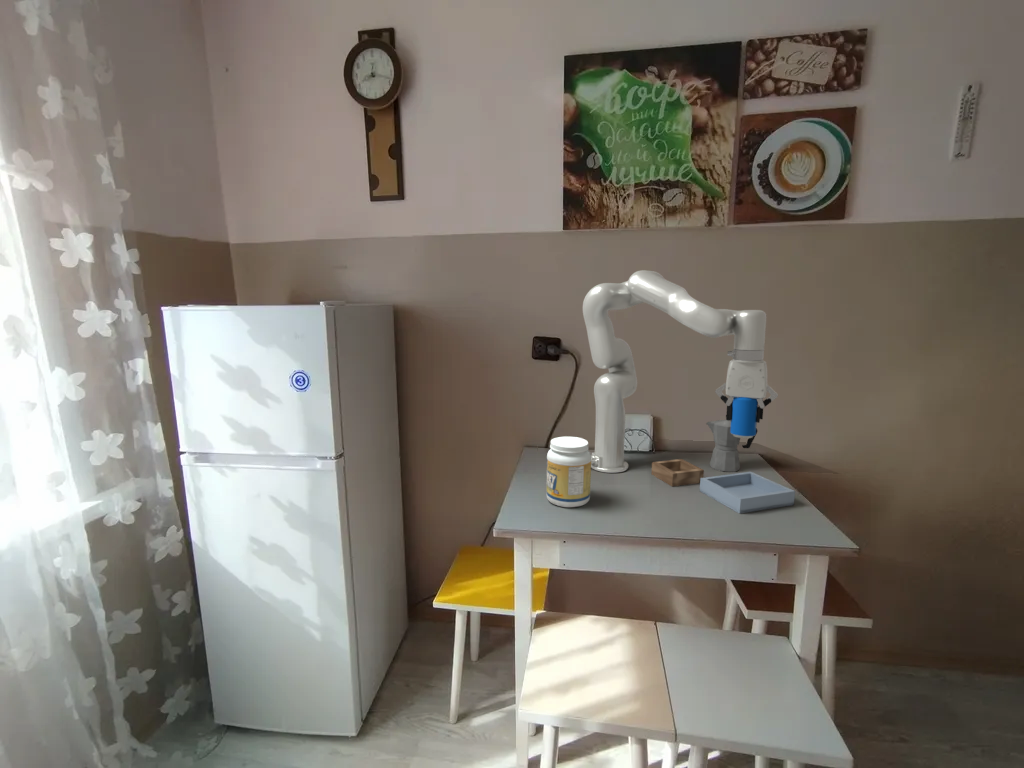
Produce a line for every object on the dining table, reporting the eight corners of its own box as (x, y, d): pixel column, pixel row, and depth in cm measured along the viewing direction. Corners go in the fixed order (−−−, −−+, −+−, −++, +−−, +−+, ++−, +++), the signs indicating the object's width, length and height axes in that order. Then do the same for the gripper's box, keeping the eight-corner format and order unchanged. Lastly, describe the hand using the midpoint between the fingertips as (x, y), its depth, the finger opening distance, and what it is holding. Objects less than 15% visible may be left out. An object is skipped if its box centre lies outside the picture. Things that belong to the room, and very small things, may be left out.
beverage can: (752, 440, 136) (755, 396, 134) (727, 436, 140) (730, 394, 138) (757, 435, 141) (760, 392, 139) (733, 431, 145) (735, 390, 143)
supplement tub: (539, 495, 144) (539, 437, 141) (577, 489, 149) (578, 433, 146) (558, 511, 133) (559, 450, 130) (598, 504, 137) (600, 445, 134)
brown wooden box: (672, 486, 150) (672, 473, 150) (651, 474, 161) (651, 462, 160) (703, 482, 154) (703, 470, 153) (680, 470, 164) (681, 458, 163)
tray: (739, 513, 132) (740, 499, 131) (699, 491, 147) (700, 478, 146) (793, 505, 137) (795, 491, 136) (749, 484, 152) (750, 471, 151)
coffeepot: (702, 469, 165) (706, 415, 162) (703, 460, 174) (707, 409, 171) (754, 475, 159) (759, 420, 156) (753, 466, 168) (757, 414, 165)
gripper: (712, 356, 137) (709, 420, 140) (784, 358, 129) (779, 426, 132) (715, 353, 144) (712, 414, 147) (784, 355, 136) (779, 420, 139)
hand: (744, 419), depth 140 cm, fingers closed on beverage can, 6 cm apart
